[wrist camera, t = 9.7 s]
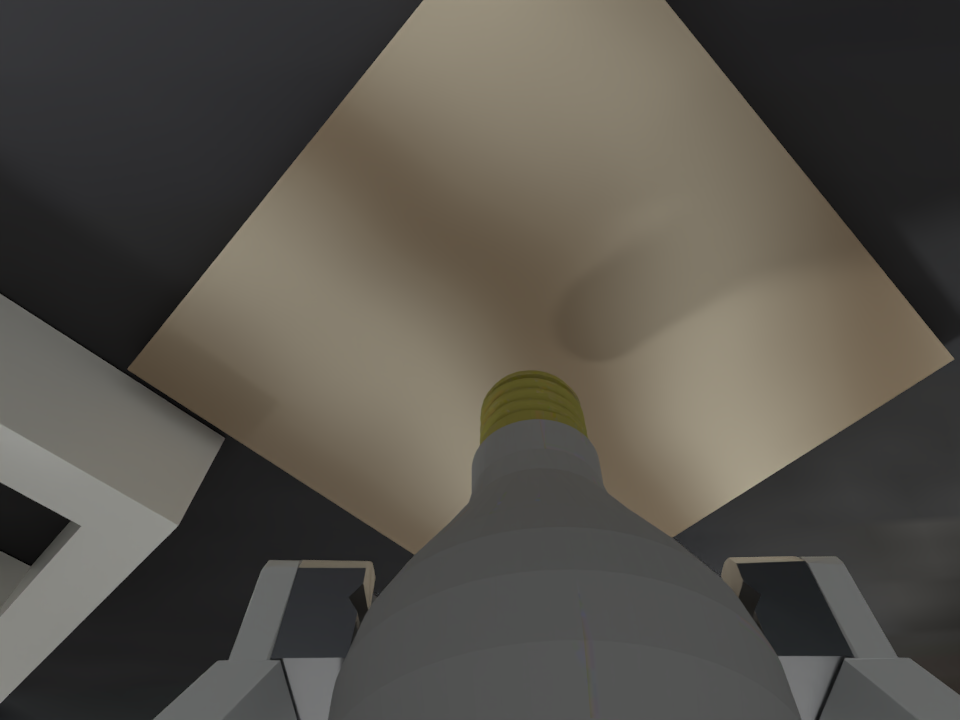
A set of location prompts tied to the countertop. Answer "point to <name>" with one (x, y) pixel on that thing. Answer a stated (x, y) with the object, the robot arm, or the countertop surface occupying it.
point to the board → (540, 274)
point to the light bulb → (555, 599)
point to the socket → (83, 480)
